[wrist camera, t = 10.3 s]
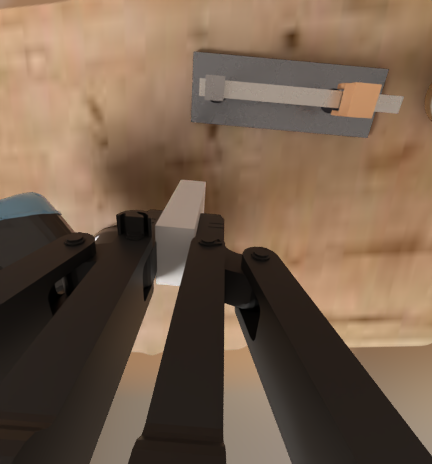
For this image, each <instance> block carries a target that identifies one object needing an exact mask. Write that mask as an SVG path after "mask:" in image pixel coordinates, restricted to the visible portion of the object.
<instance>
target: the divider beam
mask: <svg viewBox="0 0 432 464" xmlns="http://www.w3.org/2000/svg"><path fill="white" fill-rule="evenodd" d="M343 92H344V91H338V90H327V89H316V88H305V87H293V86H282V85H271V84H260V83H249V82H238V81H227V80H225V76H218V75H207V74H206V79H205V78H200V84H199V96H205V100H213V101H223V99H224V98H229V99H240V100H251V101H262V102H273V103H284V104H295V105H306V106H317V107H329V108H340V104H341V100H342V96H343ZM403 98H404V96H393V95H382V94H379V97H378V100H377V103H376V106H375V110H374V112H384V113H396V114H398V112H399V109H400V107H401V104H402V101H403Z"/></svg>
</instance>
